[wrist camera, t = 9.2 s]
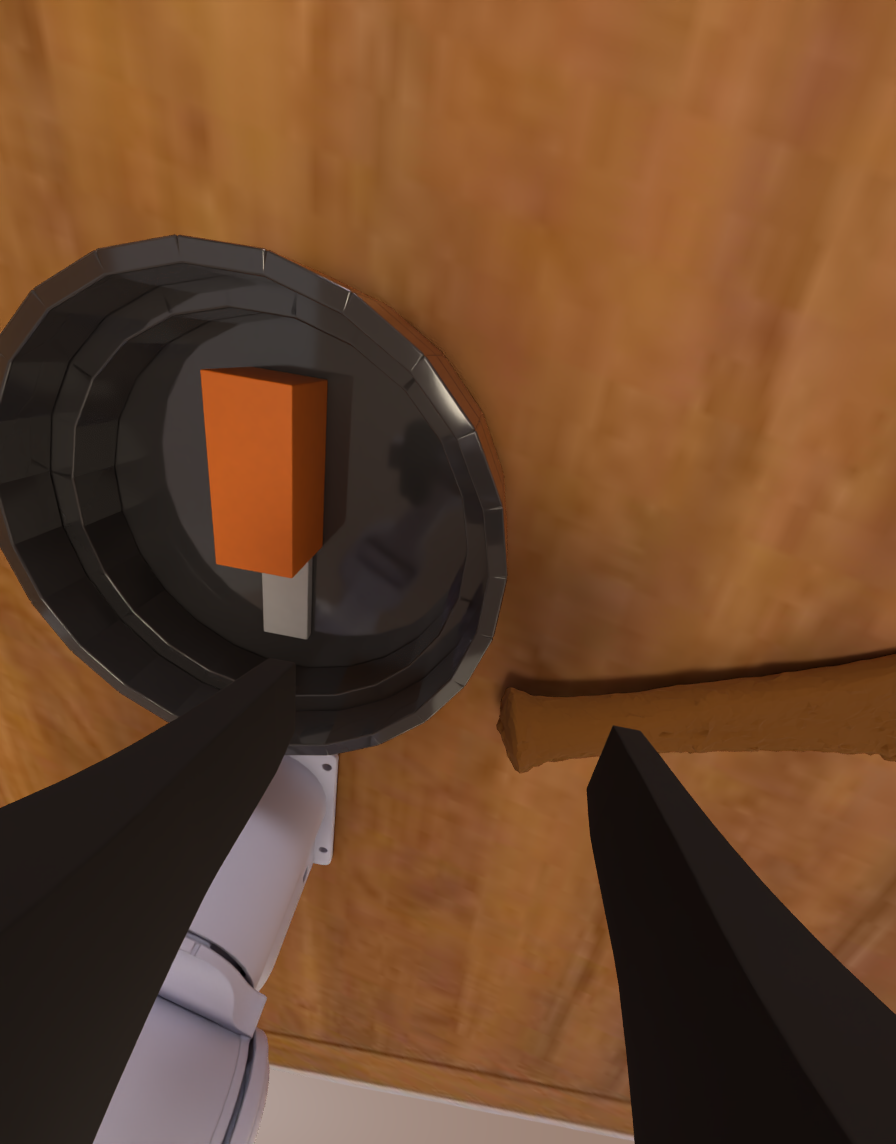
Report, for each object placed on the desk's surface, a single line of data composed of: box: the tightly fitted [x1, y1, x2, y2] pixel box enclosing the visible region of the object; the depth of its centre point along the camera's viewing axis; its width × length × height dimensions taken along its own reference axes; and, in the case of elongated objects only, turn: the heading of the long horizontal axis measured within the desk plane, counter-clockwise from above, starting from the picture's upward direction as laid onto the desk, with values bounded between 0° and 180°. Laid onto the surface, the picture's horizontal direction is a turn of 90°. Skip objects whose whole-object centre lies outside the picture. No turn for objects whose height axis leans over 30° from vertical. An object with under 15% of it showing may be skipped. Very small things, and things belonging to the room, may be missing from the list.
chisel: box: [200, 367, 328, 639], centre depth 17 cm, size 11×3×3 cm, turn 171°
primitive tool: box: [496, 654, 896, 773], centre depth 19 cm, size 19×6×4 cm, turn 100°
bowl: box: [0, 235, 508, 756], centre depth 17 cm, size 17×17×4 cm
